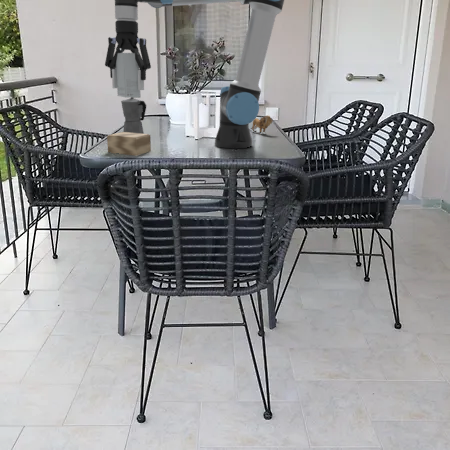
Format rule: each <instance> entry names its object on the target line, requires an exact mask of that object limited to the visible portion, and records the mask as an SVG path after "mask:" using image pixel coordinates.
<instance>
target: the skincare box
mask: <svg viewBox="0 0 450 450" xmlns="http://www.w3.org/2000/svg"><path fill="white" fill-rule="evenodd" d="M139 53H140V52H139ZM139 53H137V54H138V55H139ZM139 69H140V68H139V66H138V64H137V62H136V60H135V53H132V52H123V53H118V55H117V60H116V76H117V88H116V89H117V90H116V92H117V97H121V98H122V97H123V98H126V99H129V98H131V97H132V98H134V99H136V98H137V99H141V90H138V70H139Z"/></svg>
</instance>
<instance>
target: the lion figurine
mask: <svg viewBox="0 0 450 450" xmlns="http://www.w3.org/2000/svg"><path fill="white" fill-rule="evenodd" d="M273 121H274V120H272V117H271V116H270V115H269V114H268V115H264V116H263V117H261V118H260V119H259V118H257V117H256V118H255V119H254V120H253V121H252V127H251V128H250V129H252V130H253V131H254V129H256V130H257V128H258V129H259V133H260V132H262V133H263V132H265V133H266V130H267V128H268V127H270V126H271V125H272V124H273ZM252 130H251V131H252Z"/></svg>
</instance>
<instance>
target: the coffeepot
mask: <svg viewBox="0 0 450 450" xmlns="http://www.w3.org/2000/svg"><path fill="white" fill-rule="evenodd" d="M120 102H121V108H122V113H123V117H124V122H123V124H124V125H123V130H122V132H130V133H141V134H145V133H144V128H143V123H142V121H144V120H145V116H146V115H145V114H146V111H147V104H146V102H145V101H144V100H140V99H138V98H137V99H136V98H132V97H129V98H126V99H122V100H121V101H120Z"/></svg>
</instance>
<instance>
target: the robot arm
mask: <svg viewBox="0 0 450 450" xmlns="http://www.w3.org/2000/svg"><path fill="white" fill-rule="evenodd" d="M237 2H238V3H240V4H241V5H249V6H250V8H251V12H250V17H249V21H248V24H247V30H246V33H245V34H246V35H245V38H244V42H243V45H242V46H243V47H242V50H241V55H240V59H239V63H238V67H237V72H236V76H235V79H234V80H232V81H231V82H230V83H229V86H222V87H221V88H220V93H219V98H220V99H219V100H220V101H219V105H220V106H219V127H218V130H217V133H216V136H215V139H214V146H215V147H219V148H224V149H247V147H249V148H251V147H250V146H252V147H253V139H252V135H251V132H250V131H251V130H250V128H249V124H251V123H253V120H254V119H256V118H257V117H258V115H259V112H260V103H259V101H260V98H261V94H262V93H261V92H262V89H261V88H260V86H259V84H260V80H261V75H262V72H263V68H264V64H265V60H266V56H267V54H268V53H267V52H268V48H269V46H270V45H269V44H270V40H271V37H272V32H273V29H274V25H275V21H276V20H275V19H276V17H277V15H279V14H281V12H282V11H283V7H284V3H285V0H114V19H115V20H116V21H115V23H114V24H115V33H116V35H115V37H111V36H109V37H108V38H107V39H108V40H107V41H108V44H107V45H108V47H107V52H106V57H105V60H104V61H105V63H104V66H105V67H107V68H109V71H110V72H109V73H110V79H112V89H117V76H116V60H117V55H118V53H125V51H130V53H135V60H136V62H137V64H138V66H139V70H138V90H140V91H144V90H145V81H146V80H147V74H146V73H147V70H149V69H151V68H152V65H151V59H150V57H149V53H148V48H147V39H146V38H141V37H139V35H138V33H139V23H138V22H137V21H138V19H139V17H138V16H139V15H138V13H139V10H138V6H139V5H138V3H143V4H145V3H147V4H148V5H149V6H150V7H151V8H154V9H160V8H162V7H163V8H164V7H171V6H172V7H176V6H177V7H178V6H190V5H206V4H223V3H224V4H225V3H237ZM116 44H117V45H116ZM138 45H139V47H138ZM139 51H140V52H139ZM137 53H139V55H138V54H137Z"/></svg>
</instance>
